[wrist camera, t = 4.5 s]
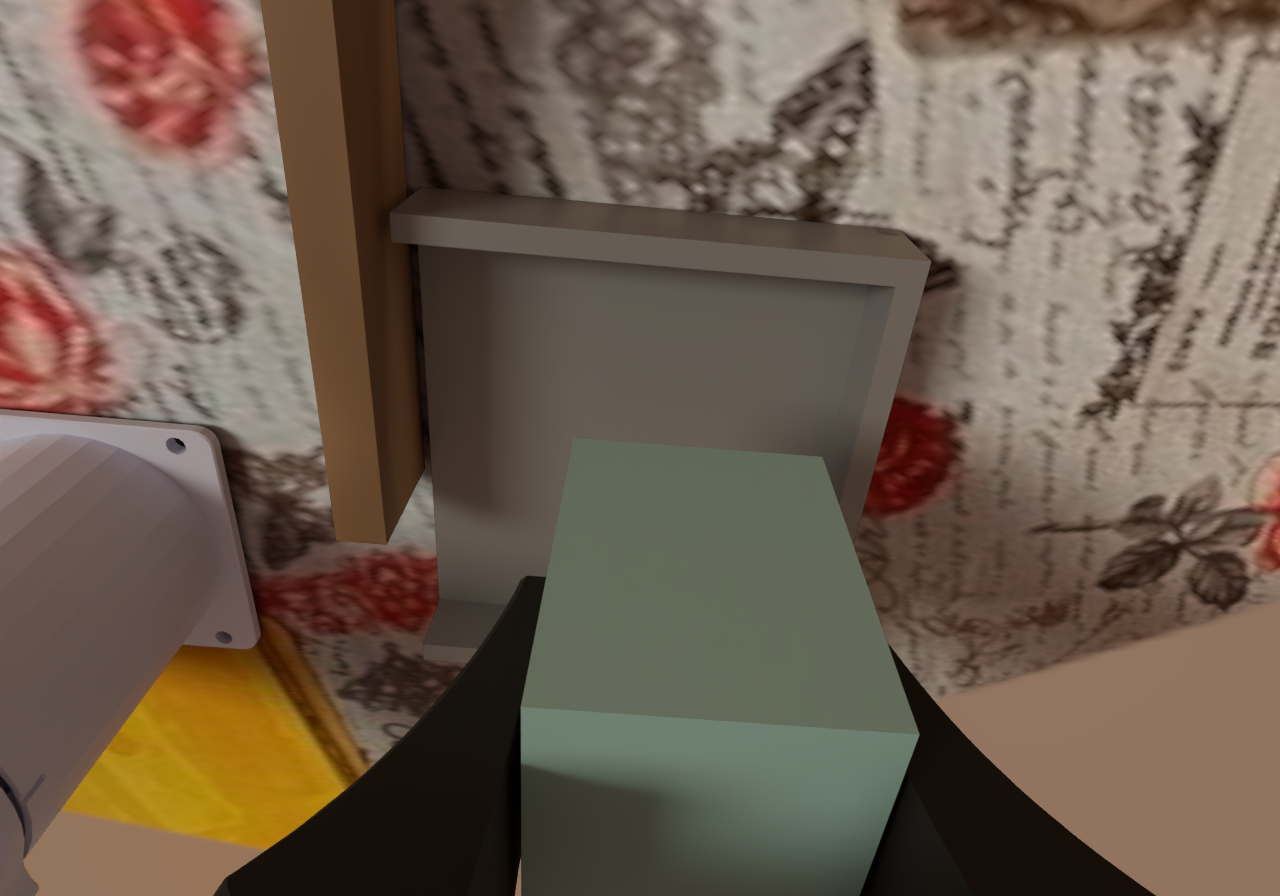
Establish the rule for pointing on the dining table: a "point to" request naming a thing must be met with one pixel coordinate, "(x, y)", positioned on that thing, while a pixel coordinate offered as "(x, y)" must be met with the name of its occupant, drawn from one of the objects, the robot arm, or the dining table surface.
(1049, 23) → the dining table surface
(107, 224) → the dining table surface
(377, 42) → the long wooden plank
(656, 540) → the block
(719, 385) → the grey open tray
